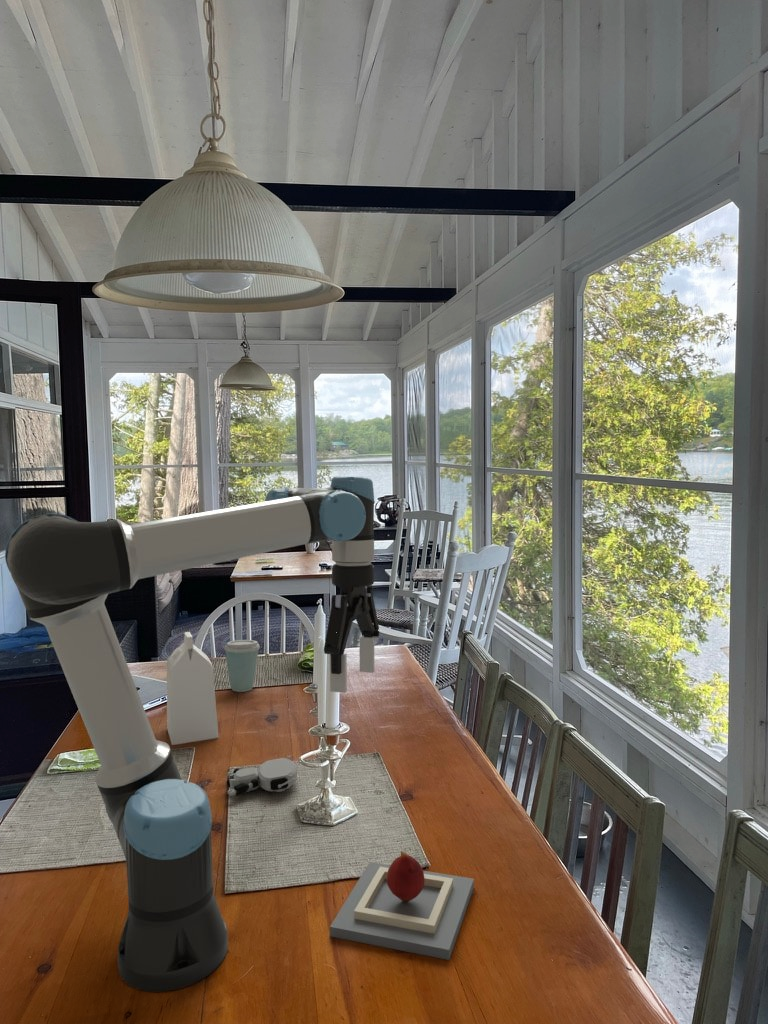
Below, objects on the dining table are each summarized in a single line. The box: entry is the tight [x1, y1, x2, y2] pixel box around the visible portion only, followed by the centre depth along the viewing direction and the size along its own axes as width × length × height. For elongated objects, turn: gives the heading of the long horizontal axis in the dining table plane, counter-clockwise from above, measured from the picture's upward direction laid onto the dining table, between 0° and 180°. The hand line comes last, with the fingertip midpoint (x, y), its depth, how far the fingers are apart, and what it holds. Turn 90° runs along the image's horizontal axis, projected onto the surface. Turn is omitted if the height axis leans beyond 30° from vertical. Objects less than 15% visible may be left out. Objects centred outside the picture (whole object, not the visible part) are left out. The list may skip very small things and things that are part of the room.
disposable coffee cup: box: [223, 639, 261, 693], centre depth 225 cm, size 11×11×15 cm
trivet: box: [329, 861, 475, 961], centre depth 114 cm, size 18×18×3 cm
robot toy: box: [226, 755, 298, 797], centre depth 158 cm, size 12×4×15 cm
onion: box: [387, 850, 425, 902], centre depth 114 cm, size 6×6×8 cm
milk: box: [166, 631, 220, 746], centre depth 189 cm, size 12×12×26 cm
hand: (353, 681), depth 131 cm, fingers open, 13 cm apart
